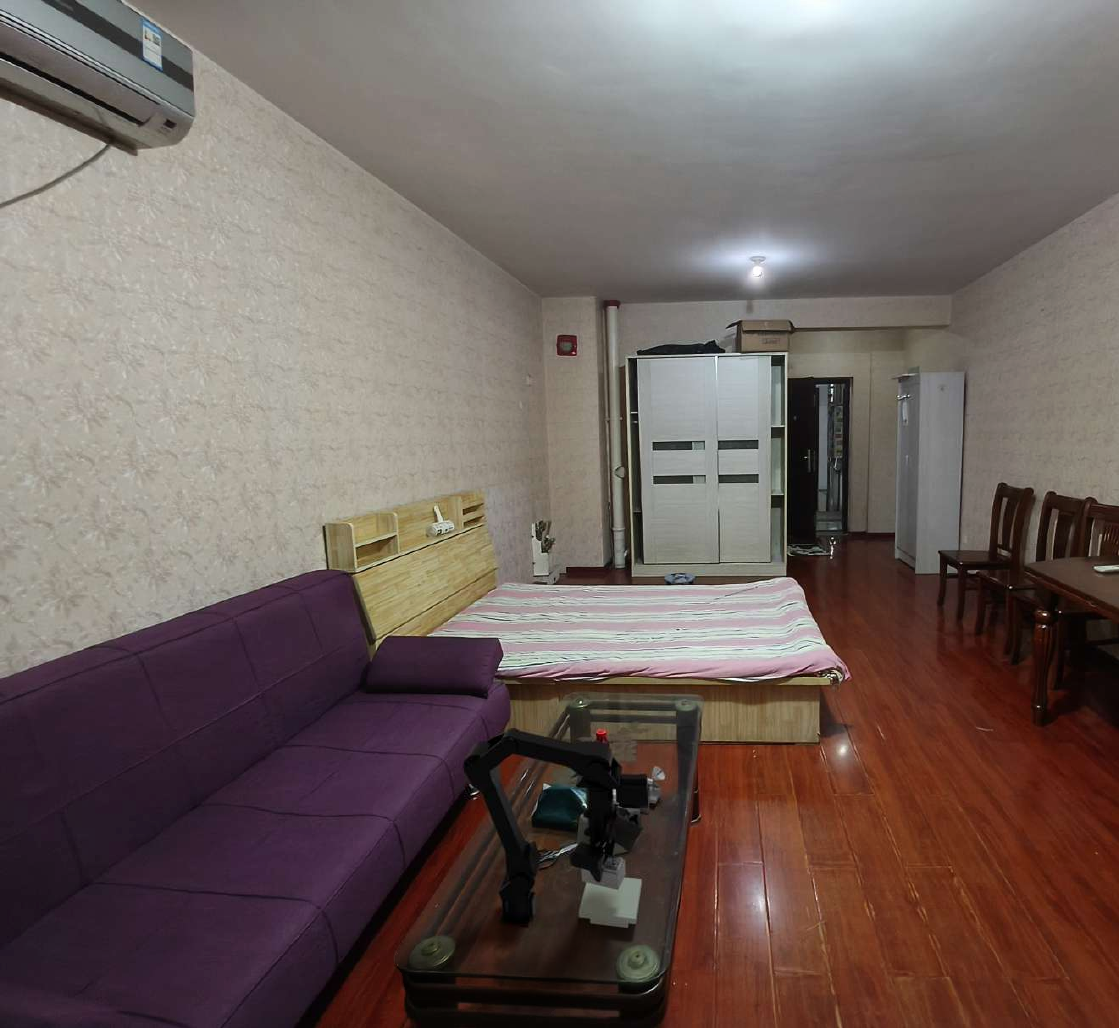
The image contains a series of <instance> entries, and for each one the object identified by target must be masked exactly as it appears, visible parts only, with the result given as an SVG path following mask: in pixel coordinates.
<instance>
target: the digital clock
mask: <svg viewBox="0 0 1119 1028" xmlns="http://www.w3.org/2000/svg"><path fill="white" fill-rule="evenodd" d="M616 806H617V805H616ZM617 807H619V805H618V806H617ZM620 808H622V807H620ZM624 809H627V810H628V811H629V813H630V814H632V813H633V812H637V813H638V814H640V815H641V812H640V809H632V808H624ZM577 826H578V827H577V837H576V846H577V845H578V844H579V843H580V842H582V843H586V844H591V843H589V839H590V837H589V836H585V835H584V830H585V829H586V828H587V826H588V825H587V818H585V817H583V813H582V814H580V817H579V819H578V825H577ZM625 853H629V851H627V850H625V849H624V848H623V847H622V846H620V845H618V844H617V843H616V847H615V851H614V856H616V855H621V854H625Z"/></svg>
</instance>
